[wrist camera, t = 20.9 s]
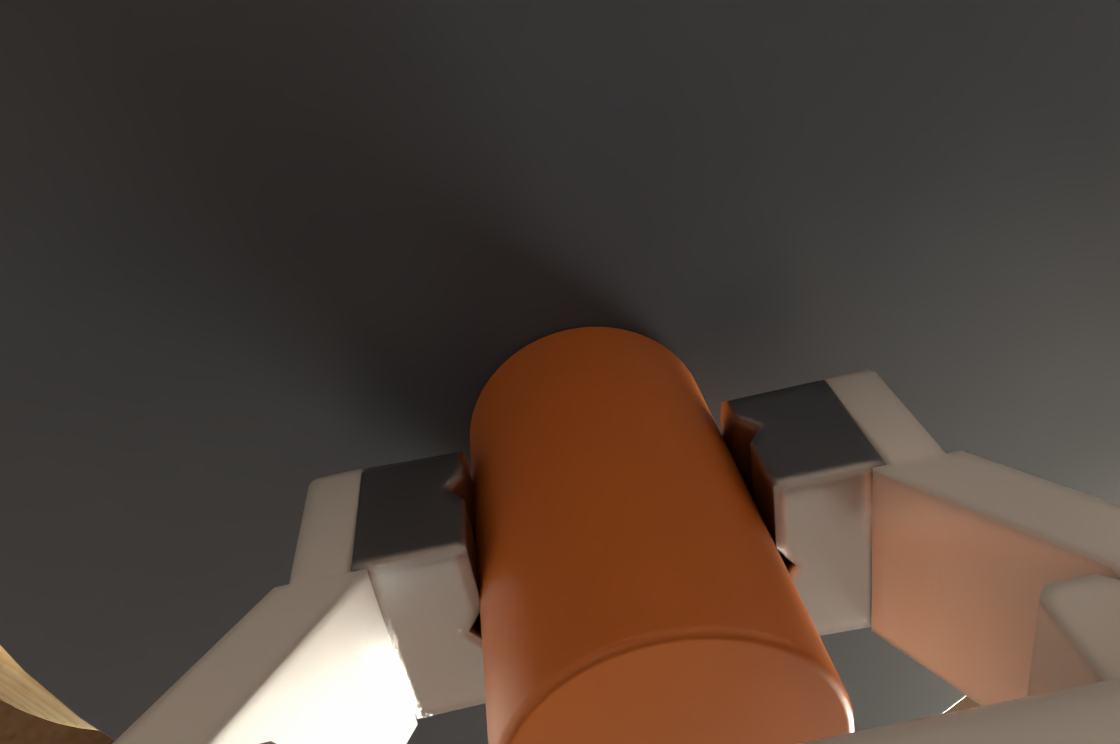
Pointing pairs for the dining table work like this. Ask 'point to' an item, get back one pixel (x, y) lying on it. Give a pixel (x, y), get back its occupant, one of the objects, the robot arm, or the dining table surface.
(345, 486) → the robot arm
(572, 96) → the pot lid
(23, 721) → the dining table surface
